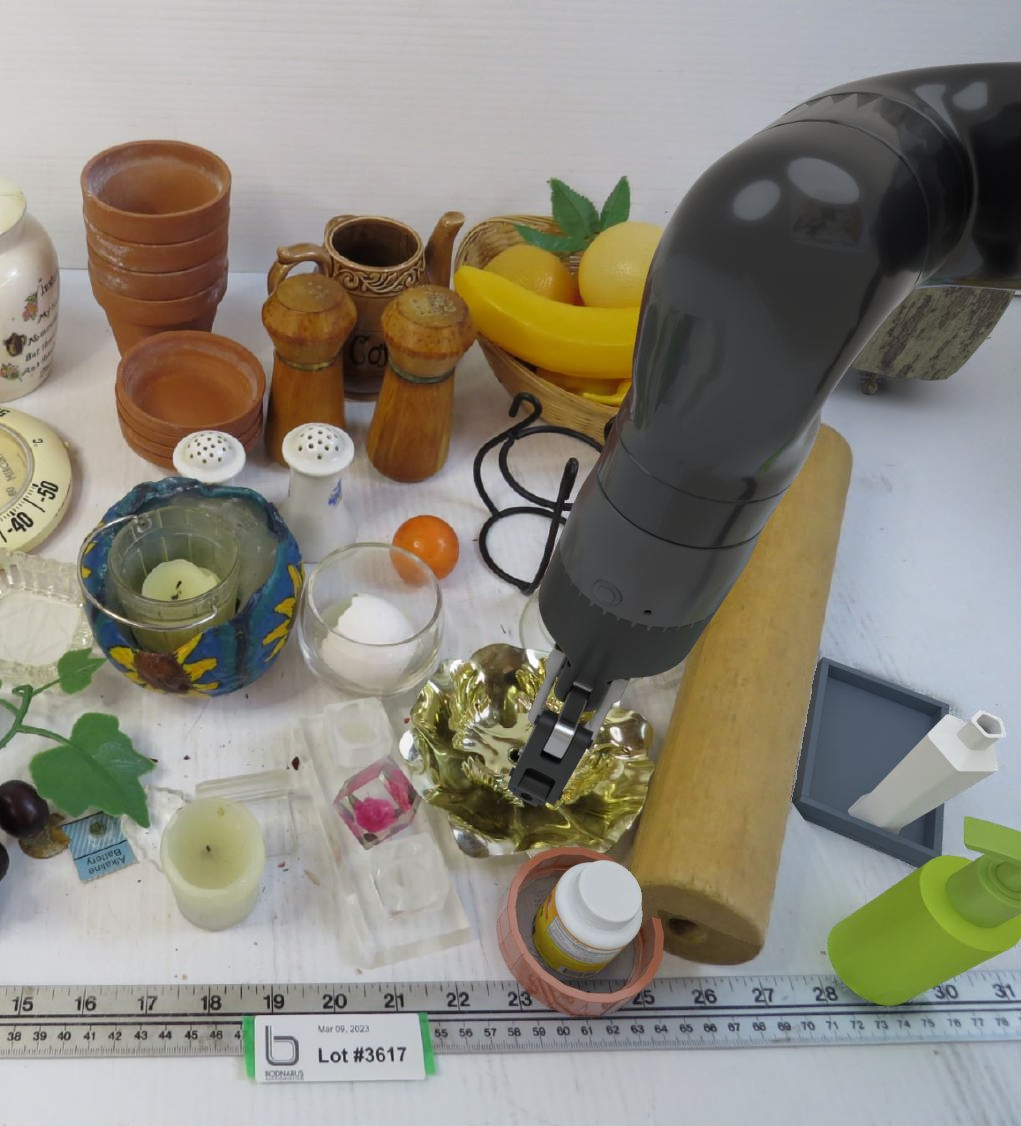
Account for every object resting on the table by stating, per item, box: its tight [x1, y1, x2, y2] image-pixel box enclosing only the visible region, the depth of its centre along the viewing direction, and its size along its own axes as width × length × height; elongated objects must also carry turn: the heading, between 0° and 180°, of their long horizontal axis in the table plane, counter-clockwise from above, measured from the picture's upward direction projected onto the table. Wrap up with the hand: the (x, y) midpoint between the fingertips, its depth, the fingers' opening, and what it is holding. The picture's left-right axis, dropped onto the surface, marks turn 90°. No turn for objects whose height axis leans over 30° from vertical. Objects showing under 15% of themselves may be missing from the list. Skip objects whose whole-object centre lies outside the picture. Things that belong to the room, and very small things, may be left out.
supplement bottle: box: [531, 860, 643, 980], centre depth 64 cm, size 6×6×10 cm
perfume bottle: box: [848, 709, 1007, 835], centre depth 69 cm, size 5×4×15 cm
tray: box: [791, 656, 950, 869], centre depth 78 cm, size 15×10×2 cm
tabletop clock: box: [849, 286, 1017, 395], centre depth 100 cm, size 14×9×25 cm, turn 77°
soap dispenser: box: [827, 815, 1021, 1007], centre depth 60 cm, size 6×7×20 cm
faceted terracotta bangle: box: [495, 846, 665, 1018], centre depth 66 cm, size 10×10×5 cm
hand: (551, 734), depth 56 cm, fingers open, 8 cm apart
